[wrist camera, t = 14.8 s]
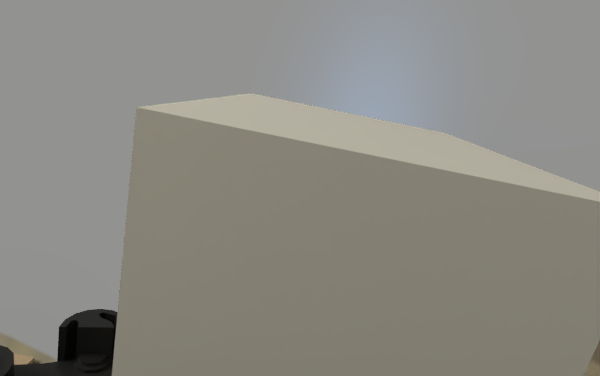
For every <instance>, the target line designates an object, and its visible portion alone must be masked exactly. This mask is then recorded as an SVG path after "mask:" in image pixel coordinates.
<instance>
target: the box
mask: <svg viewBox="0 0 600 376" xmlns="http://www.w3.org/2000/svg"><path fill="white" fill-rule="evenodd" d="M131 162H132V163H131V172H130V184H129V194H128V205H127V216H126V227H125V237H124V248H123V259H122V269H121V280H120V291H119V302H118V313H117V323H116V334H115V345H114V356H113V367H112V376H584V374H585V372H586V370H587V367H588V365H589V363H590V361H591V358H592V356H593V354H594V352H595V349H596V347H597V345H598V343H599V340H600V192H599V191H596V190H594V189H591V188H589V187H586V186H583V185H580V184H578V183H575V182H572V181H570V180H567V179H565V178H562V177H560V176H557V175H554V174H552V173H549V172H546V171H544V170H541V169H538V168H536V167H533V166H530V165H528V164H525V163H523V162H520V161H517V160H515V159H512V158H509V157H506V156H504V155H501V154H499V153H496V152H493V151H491V150H488V149H486V148H483V147H480V146H478V145H475V144H472V143H470V142H467V141H465V140H462V139H459V138H457V137H454V136H451V135H448V134H446V133H442V132H438V131H433V130H428V129H423V128H419V127H414V126H409V125H404V124H399V123H394V122H389V121H384V120H379V119H374V118H370V117H365V116H360V115H354V114H350V113H345V112H340V111H335V110H330V109H325V108H321V107H315V106H311V105H306V104H301V103H296V102H291V101H286V100H282V99H276V98H272V97H267V96H262V95H257V94H252V93H250V94H242V95H234V96H225V97H217V98H208V99H200V100H192V101H184V102H175V103H167V104H159V105H150V106H142V107H137V108H136V119H135V129H134V141H133V151H132V161H131Z"/></svg>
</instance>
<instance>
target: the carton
mask: <svg viewBox="0 0 600 376" xmlns="http://www.w3.org/2000/svg"><path fill="white" fill-rule="evenodd" d="M33 362H34V357H29V356H24V355H19V354H14V365H21V364H32V363H33Z"/></svg>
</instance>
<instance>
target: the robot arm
mask: <svg viewBox="0 0 600 376" xmlns="http://www.w3.org/2000/svg"><path fill="white" fill-rule="evenodd" d="M117 313H118V312H115V311H112V310H104V309H97V310H87V311H83V312H80V313H76V314H74V315H73V316H71V317H69V318H68V319H66V320H65V321H64V322H63V323H62V324H61V326H60V327H59V341H58V361H57V362H53V363H44V364H21V365H14V353H13V352H12V351H11V350H10V349H9V348H7V347H4V346H1V345H0V376H112V367H113V356H114V345H115V334H116V323H117Z"/></svg>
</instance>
